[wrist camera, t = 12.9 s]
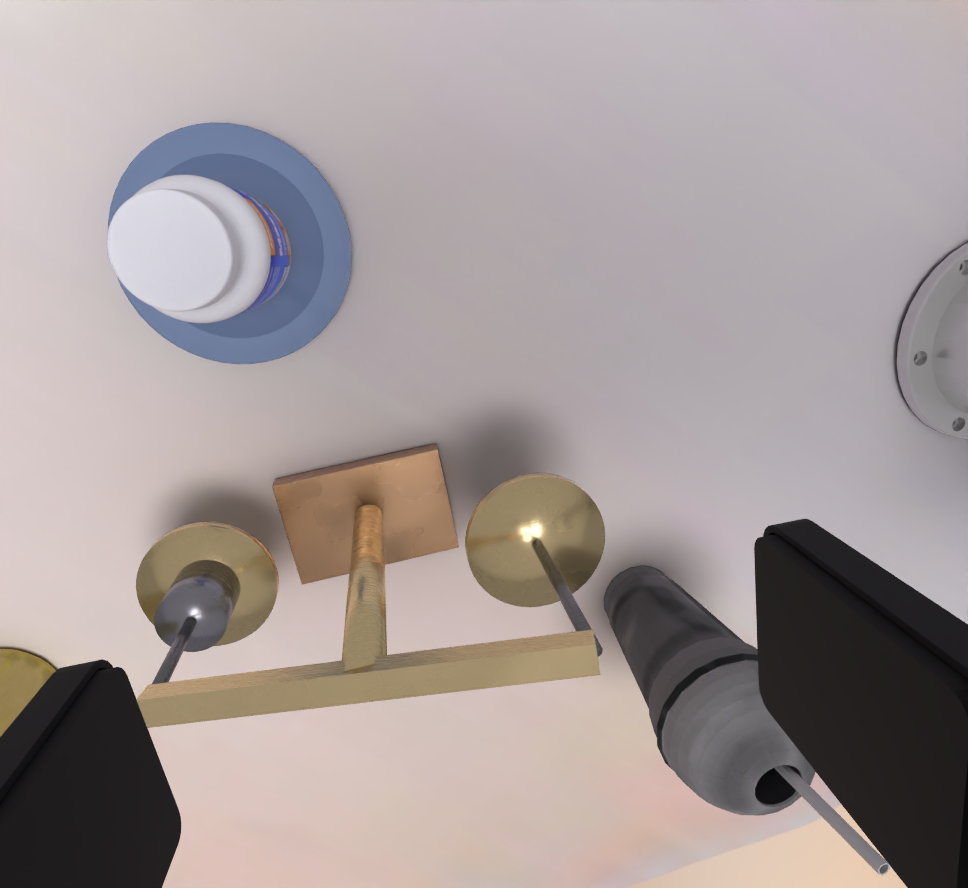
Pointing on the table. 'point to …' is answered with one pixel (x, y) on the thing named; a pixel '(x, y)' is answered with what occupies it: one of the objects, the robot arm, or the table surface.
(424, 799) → the table surface
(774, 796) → the beverage cup
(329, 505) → the balance
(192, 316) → the pill bottle
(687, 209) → the table surface
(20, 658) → the vase
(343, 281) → the dish
